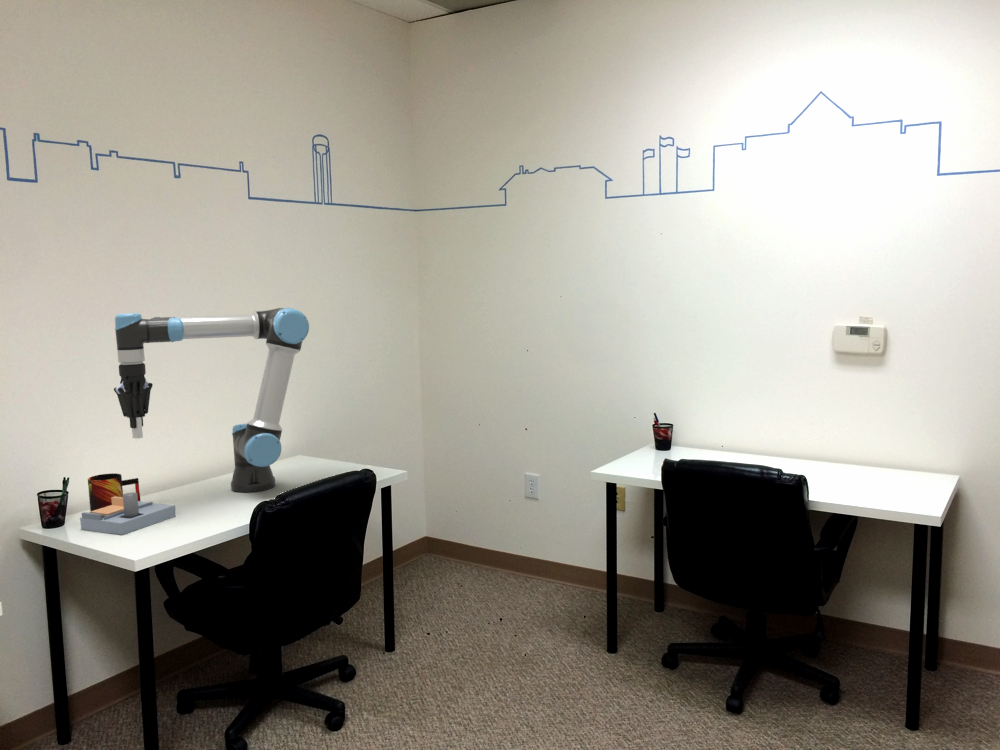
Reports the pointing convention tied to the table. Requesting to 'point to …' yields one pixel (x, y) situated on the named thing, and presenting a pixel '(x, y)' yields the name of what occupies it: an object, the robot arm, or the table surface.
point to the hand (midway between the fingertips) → (137, 437)
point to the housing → (127, 519)
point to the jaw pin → (130, 505)
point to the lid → (111, 507)
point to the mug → (107, 489)
